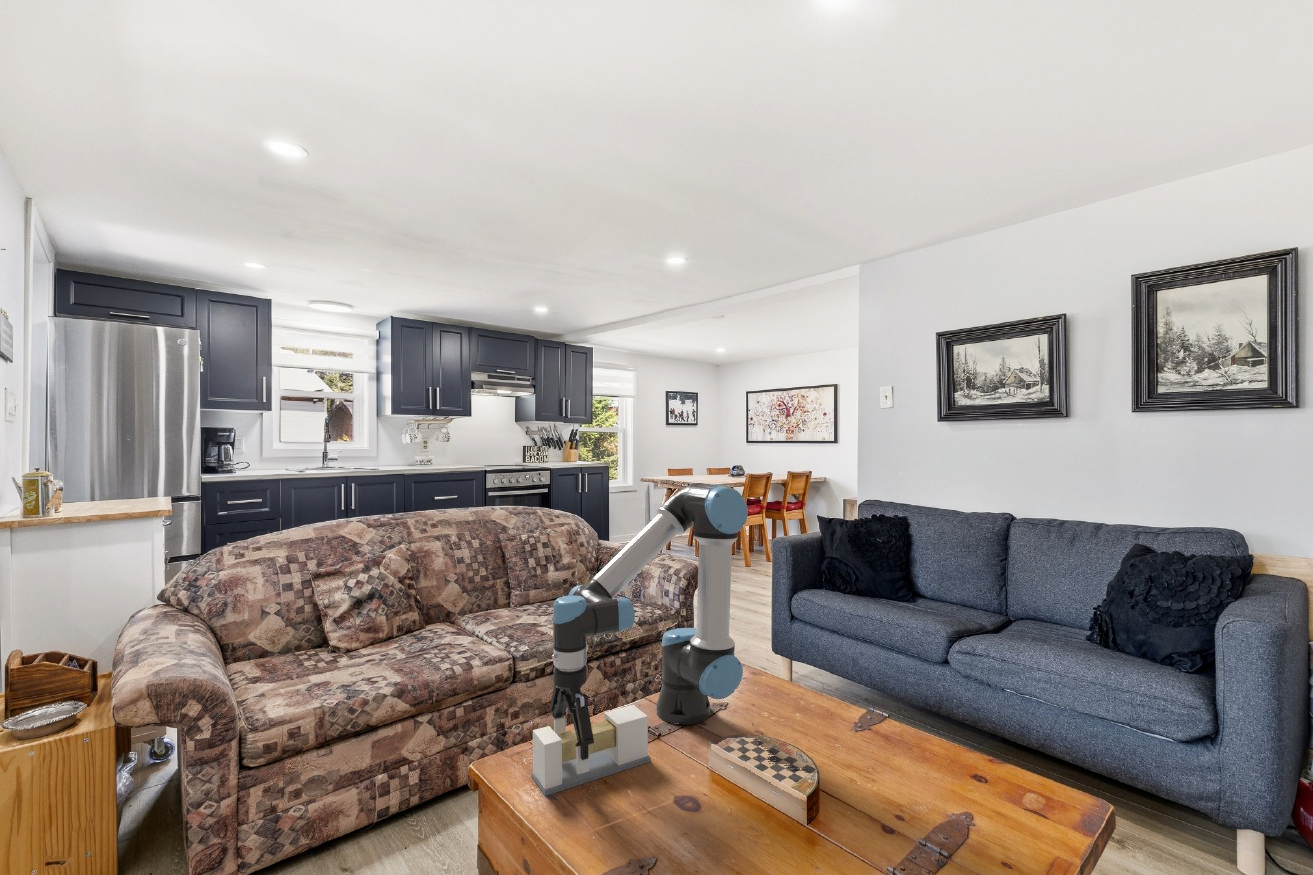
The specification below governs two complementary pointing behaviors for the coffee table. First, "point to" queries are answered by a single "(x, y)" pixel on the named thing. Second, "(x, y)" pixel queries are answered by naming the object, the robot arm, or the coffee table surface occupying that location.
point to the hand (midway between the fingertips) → (570, 758)
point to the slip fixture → (603, 763)
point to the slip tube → (602, 740)
